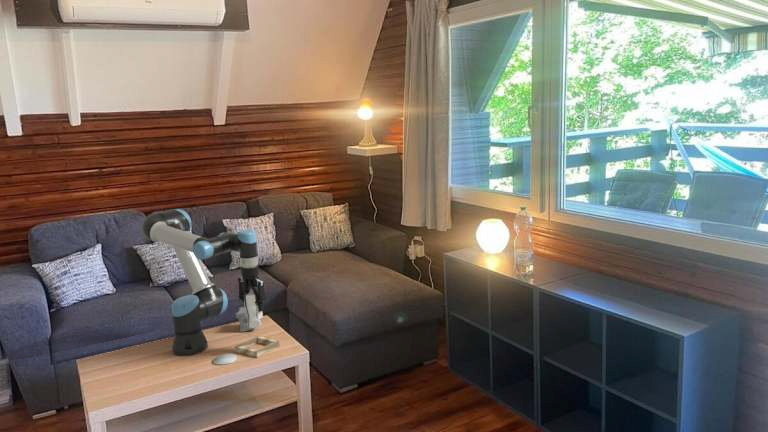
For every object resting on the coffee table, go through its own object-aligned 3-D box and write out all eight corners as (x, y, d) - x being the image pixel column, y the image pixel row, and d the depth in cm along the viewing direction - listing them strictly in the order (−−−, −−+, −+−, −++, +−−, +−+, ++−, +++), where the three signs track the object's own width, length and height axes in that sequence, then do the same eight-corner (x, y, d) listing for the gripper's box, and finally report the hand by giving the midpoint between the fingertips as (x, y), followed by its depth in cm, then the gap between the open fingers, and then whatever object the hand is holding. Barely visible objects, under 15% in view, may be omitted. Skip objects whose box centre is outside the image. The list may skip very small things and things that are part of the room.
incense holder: (241, 325, 300) (239, 305, 298) (258, 324, 301) (256, 304, 299) (237, 333, 291) (235, 312, 289) (254, 331, 291) (252, 311, 289)
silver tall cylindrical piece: (264, 322, 271) (262, 290, 268) (259, 328, 264) (257, 295, 261) (249, 322, 272) (246, 290, 269) (244, 328, 265) (241, 295, 262)
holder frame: (235, 351, 268) (234, 346, 268) (257, 341, 279) (257, 335, 279) (257, 357, 261) (256, 352, 260) (279, 346, 272) (279, 341, 271)
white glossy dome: (208, 362, 259) (208, 360, 259) (226, 353, 267) (226, 352, 267) (224, 366, 253) (224, 365, 253) (242, 357, 261) (242, 356, 261)
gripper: (227, 265, 265) (231, 315, 270) (259, 271, 254) (263, 323, 259) (240, 261, 271) (244, 310, 276) (272, 266, 260) (276, 317, 265)
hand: (253, 316), depth 267 cm, fingers closed on silver tall cylindrical piece, 7 cm apart
